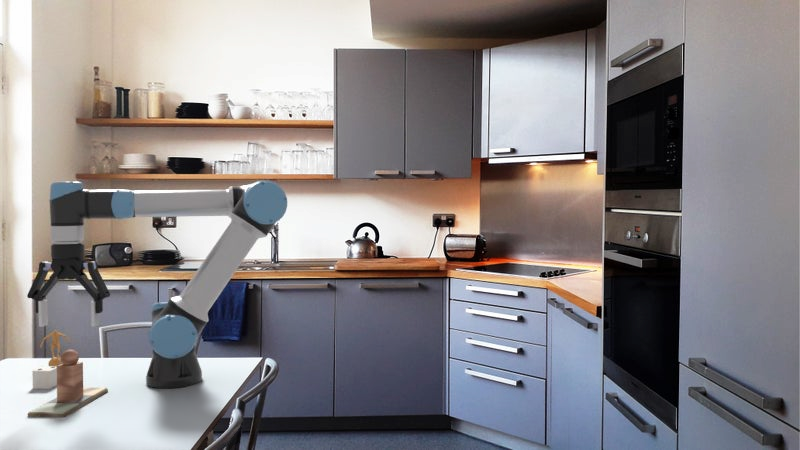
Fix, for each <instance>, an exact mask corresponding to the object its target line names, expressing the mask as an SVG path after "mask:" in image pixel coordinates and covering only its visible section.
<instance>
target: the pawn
mask: <svg viewBox="0 0 800 450" xmlns="http://www.w3.org/2000/svg"><path fill="white" fill-rule="evenodd" d="M60 358H61V362H62V364H60V365H58V366H57V386H56V398H57V402H75V401H77V400H78V399H80V398H82V397H83V387H84V362H83V361H79V359H80V355H79V352H77V351H76V350H75V349H67V350H66V349H65V350H64V351H63V352H62V353H61V355H60Z"/></svg>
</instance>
